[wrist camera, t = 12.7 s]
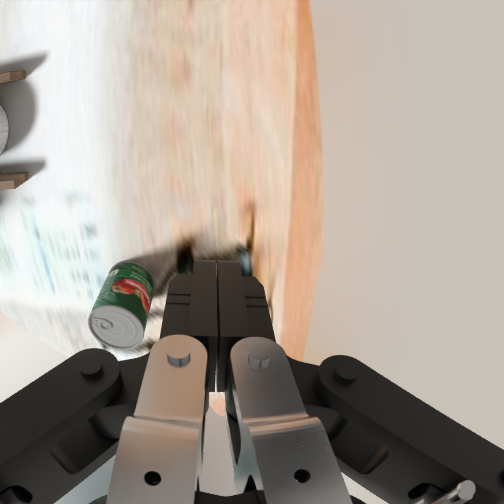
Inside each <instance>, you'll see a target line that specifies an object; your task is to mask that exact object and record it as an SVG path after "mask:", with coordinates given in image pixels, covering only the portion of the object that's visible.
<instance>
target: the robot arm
mask: <svg viewBox="0 0 504 504" xmlns="http://www.w3.org/2000/svg"><path fill="white" fill-rule="evenodd" d="M215 376H216V378H217V392H225V403H226V404H225V420H226V426H227V432H228V439H229V445H230V450H231V456H232V462H233V468H234V482H235V491H236V495H233V496H227V497H224V496H218V495H214V494H209V493H205V492H202V474H203V455H204V439H205V425H206V413H207V411H208V407H209V392H215ZM115 454H116V457H115V462H114V466H113V470H112V475H111V480H110V485H109V490H108V495H105V496H102V497H100V498H98V499H96V500H94V501H92V502H91V503H89V504H366V503H364V502H363V501H361V500H360V499H358V498H356V497H354V496H351V495H349V493H348V490H347V488H346V485H345V482H344V479H343V477H342V474H341V472H342V473H344V474H345V475H347V476H348V477H349V478H351V479H352V480H354V481H355V482H357V483H358V484H360V485H361V486H363V487H364V488H366V489H367V490H369V491H370V492H372V493H373V494H375V495H376V496H378V497H379V498H381V499H383V500H384V501H386V502H387V503H389V504H504V450H503V449H501V448H499V447H498V446H496V445H494V444H493V443H491V442H489V441H488V440H486V439H484V438H482V437H481V436H479V435H477V434H476V433H474V432H472V431H471V430H469V429H467V428H465V427H464V426H462V425H461V424H459V423H457V422H456V421H454V420H452V419H450V418H449V417H447V416H446V415H444V414H442V413H441V412H439V411H438V410H436V409H434V408H433V407H431V406H429V405H428V404H426V403H425V402H423V401H422V400H420V399H418V398H416V397H415V396H414V395H412V394H410V393H409V392H407V391H406V390H404V389H402V388H401V387H399V386H398V385H396V384H395V383H393V382H391V381H390V380H388V379H387V378H385V377H383V376H382V375H380V374H379V373H377V372H376V371H374V370H373V369H371V368H370V367H368V366H367V365H365V364H363V363H362V362H360V361H359V360H357V359H355V358H353V357H349V356H345V355H335V356H331V357H328V358H327V359H325V360H324V361H323V362H322V363H321V365H320V366H318V365H313V364H309V363H304V362H300V361H297V360H294V359H292V358H290V357H288V356H287V355H286V353H285V351H284V350H283V348H282V347H281V346H280V345H279V344H277V343H276V340H275V336H274V331H273V327H272V322H271V318H270V313H269V309H268V305H267V300H266V296H265V291H264V287H263V285H262V284H261V283H260V282H259V281H258V280H257V279H256V277H245V276H242V274H241V266H240V262H239V261H220V260H218V262H217V276H216V260H196V259H194V266H193V274H177V275H176V276H175V277H174V278H173V279H172V280H171V281H170V283H169V288H168V293H167V299H166V304H165V310H164V316H163V321H162V327H161V334H160V339H159V341H157V342H156V343H155V344H154V345H153V347H152V349H151V352H149V353H148V354H146V355H144V356H141V357H138V358H134V359H129V360H123V361H118V360H117V359H116V357H115V356H114V355H113V354H111V353H110V352H108V351H106V350H103V349H98V348H91V349H85V350H82V351H80V352H78V353H76V354H75V355H73V356H71V357H70V358H69V359H67V360H65V361H64V362H62V363H61V364H59V365H58V366H56V367H55V368H53V369H52V370H50V371H48V372H47V373H45V374H44V375H42V376H41V377H39V378H38V379H37V380H35V381H33V382H32V383H30V384H29V385H27V386H26V387H24V388H23V389H21V390H20V391H18V392H17V393H15V394H14V395H12V396H10V397H9V398H7V399H6V400H4V401H3V402H1V403H0V504H53V503H55V502H56V501H57V500H59V499H60V498H61V497H63V496H64V495H65V494H67V493H68V492H69V491H70V490H72V489H73V488H74V487H75V486H77V485H78V484H79V483H81V482H82V481H83V480H84V479H86V478H87V477H88V476H89V475H91V474H92V473H93V472H94V471H96V470H97V469H98V468H99V467H101V466H102V465H103V464H104V463H105V462H106V461H108V460H109V459H110V458H111V457H113V456H114V455H115Z"/></svg>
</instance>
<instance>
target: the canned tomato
mask: <svg viewBox="0 0 504 504" xmlns="http://www.w3.org/2000/svg"><path fill="white" fill-rule="evenodd" d="M154 290H155V280H154V277H153V275H152V273H151V272H150V271H149V270H148V269H147V268H146V267H145V266H143V265H141V264H139V263H137V262H133V261H123V262H120V263H117V264H116V265H114V266H113V267H112V268H111V270H110V271H109V274H108V276H107V278H106V280H105V283H104V284H103V287H102V289H101V291H100V293H99V296H98V297H97V300H96V302H95V304H94V307H93V309H92V311H91V313H90V315H89V318H88V326H89V329H90V331H91V333H92V334H93V336H94V337H95V338H96V339H97V340H98V341H100V342H101V343H103V344H104V345H106V346H108V347H111V348H115V349H121V350H124V349H131V348H134V347H136V346H138V345H139V344H140V343H141V342H142V340H143V337H144V331H145V328H146V323H147V318H148V314H149V310H150V306H151V302H152V297H153V293H154Z"/></svg>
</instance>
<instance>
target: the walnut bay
mask: <svg viewBox="0 0 504 504" xmlns="http://www.w3.org/2000/svg"><path fill="white" fill-rule="evenodd" d="M21 79H25V71H10V72H6V73H2V74H0V84H3V83H8V82H12V81H16V80H21ZM27 180H28V174H27V172H21V173H7V174H0V190H1V189H15V188H17V187H18V186H20V185H21V184H23V183H24V182H26V181H27Z"/></svg>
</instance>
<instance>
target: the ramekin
mask: <svg viewBox="0 0 504 504" xmlns="http://www.w3.org/2000/svg"><path fill="white" fill-rule="evenodd" d="M8 132H9V125H8V119H7V116H6V113H5V111H4V110H3V108H2V107H1V105H0V154H1V153H2V151H3V150H4V147H5V145H6V143H7V139H8Z"/></svg>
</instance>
